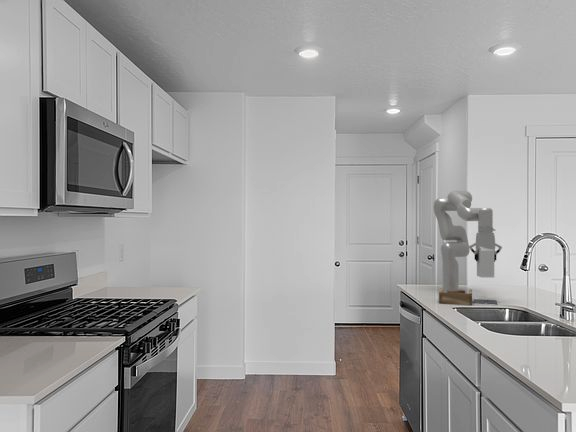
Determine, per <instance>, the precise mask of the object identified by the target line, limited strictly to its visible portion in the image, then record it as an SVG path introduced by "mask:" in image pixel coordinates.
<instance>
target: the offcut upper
mask: <svg viewBox="0 0 576 432" xmlns="http://www.w3.org/2000/svg"><path fill="white" fill-rule="evenodd" d="M447 292H448V293H466V290H465V289H464V290H463V289H458V290H453V291H447Z"/></svg>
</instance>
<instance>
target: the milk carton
mask: <svg viewBox="0 0 576 432" xmlns="http://www.w3.org/2000/svg"><path fill="white" fill-rule="evenodd" d="M480 248H481V250H479V251H478V252H477V261H476V276H477V277H479V278H495V262H494V250H492V249H488V248H484V247H480Z"/></svg>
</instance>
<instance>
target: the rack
mask: <svg viewBox="0 0 576 432" xmlns="http://www.w3.org/2000/svg"><path fill="white" fill-rule="evenodd" d="M438 304H440V305H441V304H443V305H459V306H460V305H461V306H472V305H473V289H468V293H467V292H465V293H448V292H443V287H442V288H440V289H439V292H438Z"/></svg>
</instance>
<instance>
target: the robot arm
mask: <svg viewBox="0 0 576 432" xmlns="http://www.w3.org/2000/svg"><path fill="white" fill-rule="evenodd" d="M472 200H473V195H472V194H471V192H470V191H467V190H454V191H453V190H452V191H449V193H448V195H447V197H438V198H437V199H435V200H434V202H433V212H434V213H433V214H434V216H435V218H436V220H437V224H438V229H439V235H440V237H441V239H442V240H443V241H445V242H443V243H442V244H441V245H440V253H441V257H442V258H441V261H442V288H443V292H447V291H453V290H459V262H458V260H457V259H456V258H464V257H468V255H470V251H471V252H472V253H473V255H474V260H475V262H477V252H478V251H479V250H481V248H480V247H484V248H488V249H492V250H494V263H495V262H496V261H497V254H499V253H500V252H501V250H502V249H503V246H501V245H499V244H497V243H496V237H495V231H496V227H495V228H494V227H493V226H494V225H493V223H494V222H493V219H494V218H493V215H494V214H493V209H492V208H491V207H471V206H472V202H473V201H472ZM447 212H456V213H457V215H458V217H459V218H460V219H462V220H463V221H465V222H477V227H478V228H477V232H476V235H475V242H474V243H472V244H471V245H469V239H468V234H467V231H466V229H465V227H463V226H462V225H454V224H453V221H452V218H451V216H450V215H449V213H447ZM474 247H475V250H474ZM496 247H497V250H496Z"/></svg>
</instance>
